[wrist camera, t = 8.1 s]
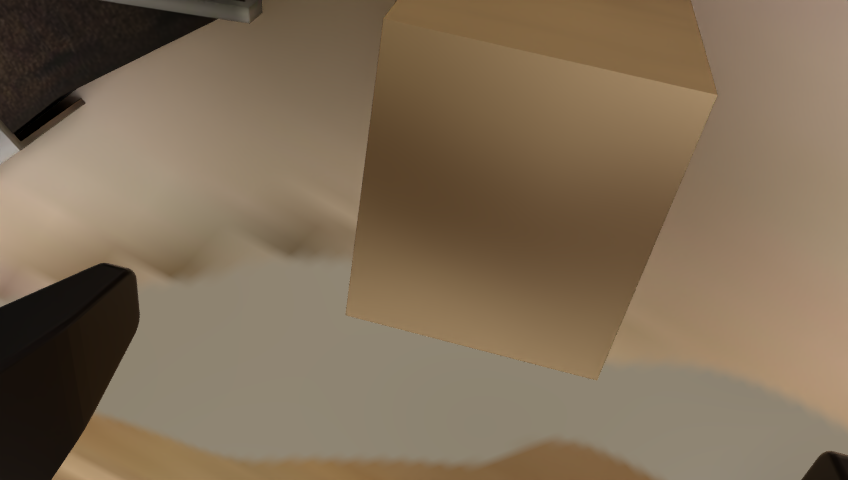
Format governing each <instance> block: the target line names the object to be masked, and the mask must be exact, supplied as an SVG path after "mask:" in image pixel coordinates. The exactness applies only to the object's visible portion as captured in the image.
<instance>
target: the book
mask: <svg viewBox="0 0 848 480" xmlns="http://www.w3.org/2000/svg"><path fill="white" fill-rule="evenodd" d="M261 13H262V0H0V165H1V164H2V163H3V162H5V161H6V160H8V159H9V158H11V157H12V156H13V155H15V154H16V153H18V152H19V151H21V150H22V149H23V148H25V147H26V146H27V145H29V144H30V143H31V142H33V141H34V140H36V139H37V138H38V137H40V136H41V135H42V134H44V133H45V132H47V131H48V130H49V129H51V128H52V127H53V126H55V125H56V124H58V123H59V122H60V121H62V120H63V119H64V118H66V117H67V116H68V115H70V114H71V113H73V112H74V111H75V110H77V109H78V108H79V107H81V106H82V105H84V104H85V102H84V101H83V100H82V98H81V99H80V100H78V101H77V102H76V103H74V104H73V105H71V106H70V107H69V108H67V109H66V110H64V111H63V112H62V113H60V114H59V115H57V116H56V117H55V118H53V119H52V120H50V121H49V122H48V123H46V124H45V125H44V126H42V127H41V128H39V129H38V130H37V131H35V132H34V133H32V134H31V135H30V136H28V137H27V138H25V139H24V140H23V141H20V140H19V139H18V138H17V137H16V135H18V134H19V133H20V132H22V131H23V130H24V129H25V128H27V127H28V126H29V125H31V124H32V123H33V122H34V121H36V120H37V119H38V118H40V117H41V116H42V115H43V114H45V113H46V112H47V111H49V110H50V109H51V108H52V107H54V106H55V105H56V104H58V103H59V102H60V101H61V100H63V99H64V98H65V97H67V96H68V95H69V94H70V93H72V92H73V91H74V90H76V89H77V88H79V87H81V86H83V85H85V84H87V83H89V82H91V81H93V80H95V79H97V78H99V77H101V76H103V75H105V74H107V73H109V72H111V71H113V70H115V69H117V68H119V67H121V66H123V65H125V64H127V63H129V62H131V61H134V60H136V59H138V58H140V57H142V56H144V55H146V54H148V53H150V52H152V51H154V50H156V49H158V48H160V47H162V46H164V45H166V44H168V43H170V42H172V41H174V40H176V39H178V38H180V37H182V36H184V35H186V34H188V33H190V32H192V31H194V30H196V29H198V28H200V27H203V26H205V25H207V24H209V23H211V22H213V21H215V20H217V19H224V20H231V21H237V22H243V23H251V22H252V21H253V20H254V19H256V18H257V17H258V16H259V15H260V14H261Z"/></svg>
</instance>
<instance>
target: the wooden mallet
mask: <svg viewBox="0 0 848 480" xmlns="http://www.w3.org/2000/svg"><path fill="white" fill-rule="evenodd" d="M717 96H718V95H717V91H716V88H715V84H714V81H713V77H712V74H711V70H710V67H709V63H708V60H707V56H706V53H705V49H704V46H703V42H702V39H701V35H700V32H699V28H698V25H697V21H696V18H695V14H694V11H693V7H692V4H691V0H397V1H396V3H395V4H394V5H393V7H392V8H391V9H390V11H389V12H388V13H387V14H386V16H385V17H384V18H383V26H382V34H381V41H380V49H379V57H378V65H377V73H376V80H375V88H374V96H373V104H372V112H371V120H370V127H369V135H368V143H367V151H366V159H365V167H364V174H363V182H362V190H361V198H360V206H359V213H358V221H357V229H356V237H355V245H354V253H353V260H352V268H351V277H350V284H349V292H348V299H347V307H346V315H347V316H351V317H355V318H359V319H362V320H366V321H370V322H374V323H378V324H382V325H385V326H389V327H393V328H398V329H401V330H405V331H409V332H412V333H417V334H420V335H424V336H428V337H432V338H436V339H440V340H443V341H447V342H451V343H455V344H459V345H463V346H466V347H470V348H474V349H478V350H482V351H486V352H490V353H494V354H497V355H501V356H505V357H509V358H513V359H516V360H520V361H524V362H528V363H532V364H536V365H539V366H543V367H547V368H551V369H555V370H559V371H563V372H566V373H570V374H574V375H578V376H582V377H586V378H590V379H593V380H597V379H598V377H599V375H600V372H601V370H602V368H603V365H604V363H605V360H606V358H607V356H608V353H609V351H610V349H611V346H612V344H613V342H614V339H615V337H616V334H617V332H618V330H619V327H620V325H621V323H622V320H623V318H624V316H625V313H626V311H627V308H628V306H629V304H630V301H631V299H632V297H633V294H634V292H635V290H636V287H637V285H638V282H639V280H640V278H641V275H642V273H643V271H644V268H645V266H646V263H647V261H648V259H649V256H650V254H651V252H652V249H653V247H654V245H655V242H656V240H657V237H658V235H659V233H660V230H661V228H662V226H663V223H664V221H665V219H666V216H667V214H668V211H669V209H670V207H671V204H672V202H673V200H674V197H675V195H676V193H677V190H678V188H679V185H680V183H681V181H682V178H683V176H684V174H685V171H686V169H687V167H688V164H689V162H690V159H691V157H692V155H693V152H694V150H695V148H696V145H697V143H698V141H699V138H700V136H701V133H702V131H703V129H704V126H705V124H706V122H707V119H708V117H709V114H710V112H711V110H712V107H713V105H714V103H715V100H716V98H717Z"/></svg>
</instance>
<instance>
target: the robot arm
mask: <svg viewBox="0 0 848 480" xmlns="http://www.w3.org/2000/svg"><path fill="white" fill-rule="evenodd" d="M139 315H140V312H139V301H138V290H137V280H136V275H135V273H134V272H133V271H132V270H131V269H129V268H125V267H121V266H117V265H113V264H110V263H100V264H97V265H95V266H93V267H90V268H88V269H86V270H84V271H81V272H79V273H77V274H75V275H72V276H70V277H68V278H65V279H63V280H61V281H59V282H56V283H54V284H52V285H50V286H47V287H45V288H43V289H41V290H38V291H36V292H34V293H31V294H29V295H27V296H25V297H22V298H20V299H18V300H16V301H13V302H11V303H9V304H7V305H4V306H2V307H0V480H51V479H52V478H53V476H54V475H55V473H56V472H57V470H58V469H59V467H60V466H61V464H62V463H63V461H64V460H65V459H66V457H67V456H68V454H69V453H70V451H71V450H72V448H73V447H74V445H75V444H76V442H77V440H78V439H79V437H80V436H81V434H82V433H83V431H84V429H85V428H86V426H87V424H88V422H89V421H90V419H91V417H92V415H93V413H94V411H95V410H96V408H97V406H98V404H99V402H100V400H101V398H102V396H103V394H104V392H105V390H106V388H107V387H108V385H109V383H110V381H111V379H112V377H113V375H114V373H115V371H116V369H117V367H118V365H119V363H120V361H121V359H122V357H123V356H124V354H125V352H126V350H127V348H128V346H129V344H130V342H131V340H132V338H133V337H134V335H135V333H136V330H137V327H138V324H139V318H140V316H139ZM802 480H848V455H845V454H841V453H837V452H833V451H826V452H824V453H822V454H821V455H820V456H819V457H818V459H817V460H816V461H815V462H814V464H813V465H812V466H811V468H810V469H809V470H808V472H807V473H806V474H805V476H804V477H803V478H802Z"/></svg>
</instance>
